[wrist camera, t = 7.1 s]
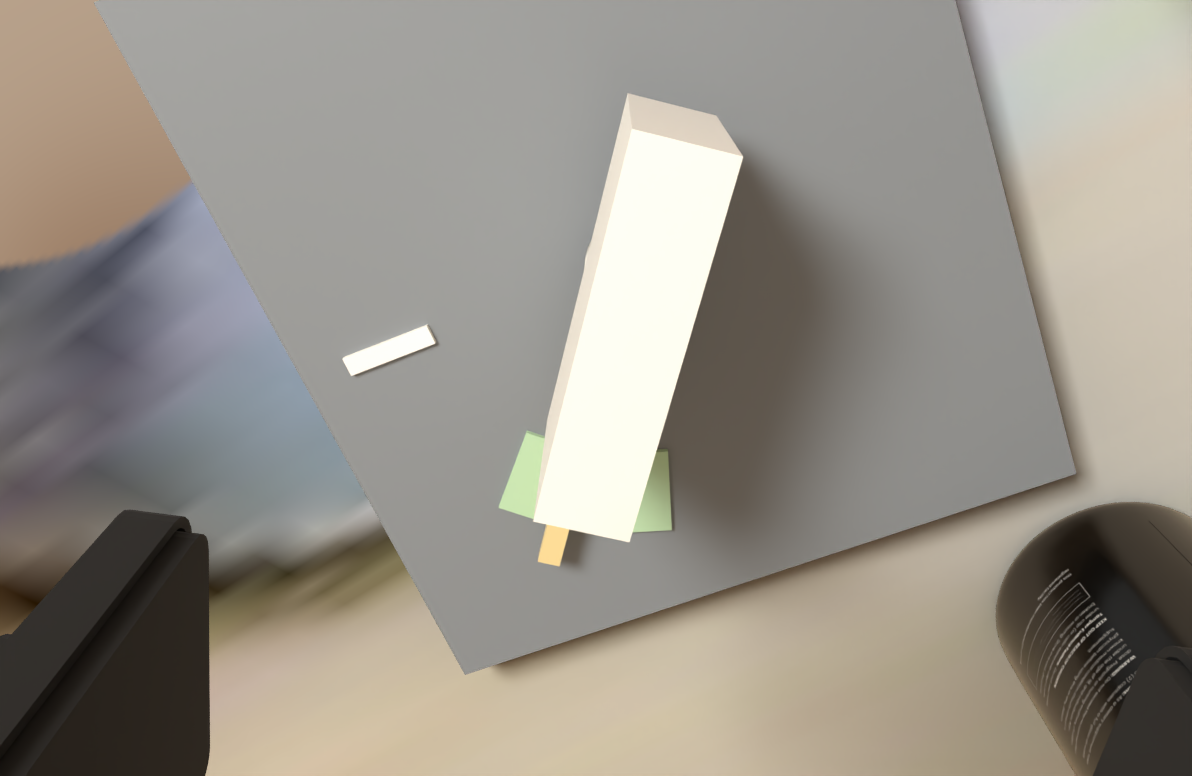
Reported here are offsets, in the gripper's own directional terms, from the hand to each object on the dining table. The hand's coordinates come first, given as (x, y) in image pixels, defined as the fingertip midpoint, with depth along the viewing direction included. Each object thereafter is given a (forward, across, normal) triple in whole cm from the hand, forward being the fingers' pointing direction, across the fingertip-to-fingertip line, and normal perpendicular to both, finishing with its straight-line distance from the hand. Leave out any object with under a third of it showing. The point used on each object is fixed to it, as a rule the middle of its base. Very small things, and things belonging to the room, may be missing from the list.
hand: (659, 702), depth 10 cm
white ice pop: (+16, 0, +2) cm, 16 cm away
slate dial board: (+18, 0, 0) cm, 18 cm away
